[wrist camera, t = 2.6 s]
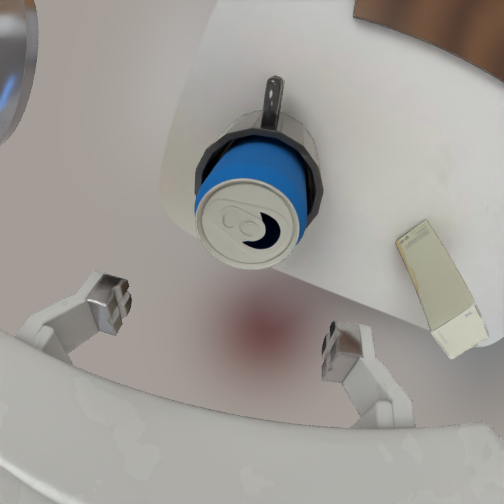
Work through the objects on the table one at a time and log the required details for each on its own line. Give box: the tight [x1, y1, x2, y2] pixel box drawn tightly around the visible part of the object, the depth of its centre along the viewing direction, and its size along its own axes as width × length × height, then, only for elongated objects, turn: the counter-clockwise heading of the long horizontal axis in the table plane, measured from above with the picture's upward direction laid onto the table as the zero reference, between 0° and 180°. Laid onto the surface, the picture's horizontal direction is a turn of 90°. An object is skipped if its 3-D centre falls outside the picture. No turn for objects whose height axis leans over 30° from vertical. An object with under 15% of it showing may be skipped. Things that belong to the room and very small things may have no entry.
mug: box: [195, 75, 323, 229], centre depth 22 cm, size 12×9×8 cm
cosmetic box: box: [396, 220, 489, 360], centre depth 24 cm, size 6×4×12 cm
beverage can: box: [195, 135, 307, 270], centre depth 21 cm, size 6×6×12 cm
